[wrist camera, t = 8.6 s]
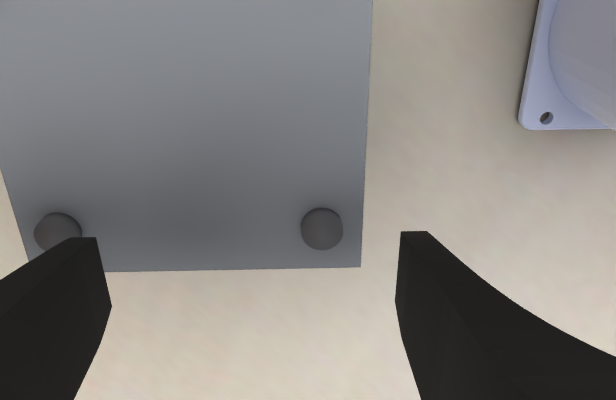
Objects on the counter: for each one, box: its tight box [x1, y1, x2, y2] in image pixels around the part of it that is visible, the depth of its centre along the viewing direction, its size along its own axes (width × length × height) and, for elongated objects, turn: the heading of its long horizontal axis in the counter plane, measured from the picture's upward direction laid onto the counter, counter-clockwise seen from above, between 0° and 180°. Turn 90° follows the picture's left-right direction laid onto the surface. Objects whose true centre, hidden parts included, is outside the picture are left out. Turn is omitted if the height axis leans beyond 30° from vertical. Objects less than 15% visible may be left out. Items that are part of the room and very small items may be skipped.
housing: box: [0, 0, 373, 272], centre depth 17 cm, size 10×10×7 cm
